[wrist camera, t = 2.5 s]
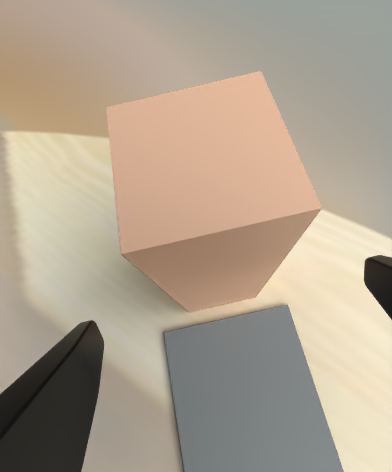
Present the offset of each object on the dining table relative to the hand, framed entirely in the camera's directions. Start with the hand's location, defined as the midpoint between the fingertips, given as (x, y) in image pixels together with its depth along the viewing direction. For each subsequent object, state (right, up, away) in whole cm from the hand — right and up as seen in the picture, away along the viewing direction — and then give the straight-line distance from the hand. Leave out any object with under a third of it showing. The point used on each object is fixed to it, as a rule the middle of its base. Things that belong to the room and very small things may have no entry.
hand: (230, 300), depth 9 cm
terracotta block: (0, -1, +12) cm, 12 cm away
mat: (+3, -11, +7) cm, 14 cm away
